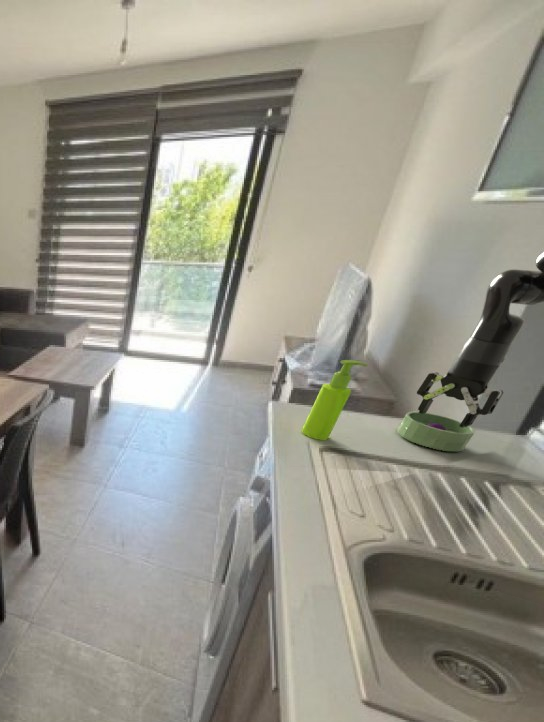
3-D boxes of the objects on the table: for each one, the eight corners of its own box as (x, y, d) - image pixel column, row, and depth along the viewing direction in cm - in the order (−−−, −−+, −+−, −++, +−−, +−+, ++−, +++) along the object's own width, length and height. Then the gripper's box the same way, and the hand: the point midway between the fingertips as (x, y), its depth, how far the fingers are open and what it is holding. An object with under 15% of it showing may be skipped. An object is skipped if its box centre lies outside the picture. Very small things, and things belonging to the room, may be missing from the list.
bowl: (472, 449, 122) (485, 430, 120) (445, 456, 118) (458, 437, 115) (412, 427, 133) (423, 409, 130) (385, 433, 128) (395, 414, 126)
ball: (443, 441, 124) (453, 426, 122) (434, 444, 122) (444, 428, 120) (423, 434, 128) (432, 419, 125) (414, 436, 126) (423, 421, 124)
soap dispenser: (337, 440, 123) (375, 365, 113) (310, 439, 122) (346, 364, 113) (321, 430, 128) (356, 358, 118) (296, 429, 128) (329, 356, 118)
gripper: (434, 350, 119) (401, 410, 127) (511, 369, 107) (469, 433, 115) (451, 348, 121) (417, 407, 129) (527, 366, 110) (485, 429, 118)
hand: (441, 419), depth 122 cm, fingers open, 8 cm apart
